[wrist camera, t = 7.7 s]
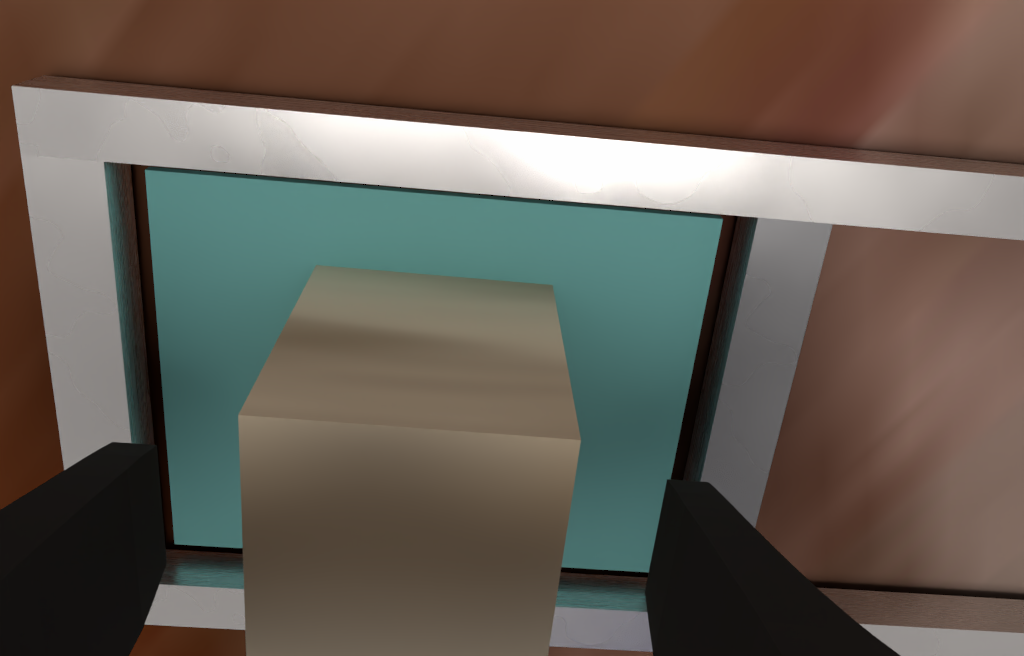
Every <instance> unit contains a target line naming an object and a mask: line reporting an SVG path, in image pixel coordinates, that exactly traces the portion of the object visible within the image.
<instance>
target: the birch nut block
mask: <svg viewBox="0 0 1024 656" xmlns="http://www.w3.org/2000/svg"><path fill="white" fill-rule="evenodd" d="M238 423H239V453H240V483H241V513H242V543H243V573H244V604H245V634H246V656H548V651H549V644H550V638H551V631H552V625H553V618H554V612H555V605H556V599H557V592H558V586H559V579H560V573H561V566H562V560H563V553H564V547H565V541H566V534H567V528H568V521H569V515H570V508H571V502H572V495H573V489H574V482H575V476H576V469H577V463H578V456H579V450H580V443H581V437H580V432H579V426H578V421H577V416H576V410H575V405H574V399H573V394H572V388H571V383H570V377H569V372H568V366H567V361H566V356H565V350H564V345H563V339H562V334H561V328H560V323H559V317H558V312H557V307H556V301H555V296H554V290H553V285H547V284H535V283H523V282H511V281H499V280H488V279H476V278H464V277H452V276H440V275H428V274H416V273H405V272H393V271H381V270H369V269H357V268H345V267H333V266H322V265H316V266H315V268H314V270H313V272H312V274H311V276H310V278H309V280H308V282H307V284H306V286H305V287H304V289H303V291H302V293H301V295H300V297H299V299H298V301H297V303H296V305H295V307H294V309H293V311H292V312H291V314H290V316H289V318H288V320H287V322H286V324H285V326H284V328H283V330H282V332H281V334H280V336H279V338H278V339H277V341H276V343H275V345H274V347H273V349H272V351H271V353H270V355H269V357H268V359H267V361H266V363H265V364H264V366H263V368H262V370H261V372H260V374H259V376H258V378H257V380H256V382H255V384H254V386H253V388H252V390H251V391H250V393H249V395H248V397H247V399H246V401H245V403H244V405H243V407H242V409H241V411H240V413H239V415H238Z"/></svg>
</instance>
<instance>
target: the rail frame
mask: <svg viewBox="0 0 1024 656" xmlns="http://www.w3.org/2000/svg"><path fill="white" fill-rule="evenodd" d="M12 94H13V101H14V108H15V115H16V123H17V130H18V137H19V144H20V152H21V159H22V166H23V174H24V181H25V188H26V195H27V203H28V210H29V217H30V224H31V232H32V239H33V246H34V254H35V261H36V268H37V275H38V283H39V290H40V297H41V304H42V312H43V319H44V326H45V334H46V341H47V348H48V355H49V363H50V370H51V377H52V384H53V392H54V399H55V406H56V414H57V421H58V428H59V435H60V443H61V450H62V457H63V464H64V470H66V469H67V468H69V467H71V466H72V465H74V464H75V463H77V462H79V461H80V460H82V459H83V458H85V457H87V456H88V455H90V454H92V453H93V452H95V451H97V450H99V449H100V448H102V447H104V446H106V445H108V444H110V443H111V442H120V443H135V444H150V445H154V434H153V422H152V411H151V399H150V388H149V376H148V364H147V353H146V341H145V329H144V318H143V306H142V295H141V283H140V271H139V260H138V248H137V236H136V225H135V213H134V202H133V190H132V178H131V167H130V164H137V165H149V166H161V167H173V168H184V169H196V170H208V171H219V172H231V173H243V174H254V175H266V176H278V177H289V178H301V179H313V180H325V181H336V182H348V183H360V184H371V185H383V186H395V187H406V188H418V189H430V190H442V191H453V192H465V193H477V194H488V195H500V196H512V197H523V198H535V199H547V200H559V201H570V202H582V203H594V204H605V205H617V206H629V207H640V208H652V209H664V210H675V211H687V212H699V213H711V214H722V215H734V216H738V218H737V223H736V227H735V232H734V237H733V242H732V247H731V251H730V256H729V261H728V266H727V270H726V275H725V280H724V285H723V290H722V294H721V299H720V304H719V309H718V314H717V318H716V323H715V328H714V333H713V338H712V342H711V347H710V352H709V357H708V362H707V366H706V371H705V376H704V381H703V386H702V390H701V395H700V400H699V405H698V409H697V414H696V419H695V424H694V429H693V433H692V438H691V443H690V448H689V453H688V457H687V462H686V467H685V472H684V477H683V480H685V481H700V482H709V483H710V484H711V485H712V486H714V487H715V488H716V489H717V490H718V491H719V492H720V493H721V494H722V495H723V496H724V497H725V498H726V499H727V500H728V501H729V502H730V503H731V504H732V505H733V506H734V507H735V508H736V509H737V510H738V511H739V512H740V513H741V514H742V515H743V516H744V518H745V519H746V520H747V521H748V522H749V523H750V524H751V525H752V526H753V527H754V528H755V526H756V522H757V518H758V514H759V510H760V506H761V502H762V498H763V494H764V491H765V487H766V483H767V479H768V475H769V471H770V467H771V463H772V459H773V455H774V452H775V448H776V444H777V440H778V436H779V432H780V428H781V424H782V420H783V416H784V412H785V409H786V405H787V401H788V397H789V393H790V389H791V385H792V381H793V377H794V373H795V369H796V366H797V362H798V358H799V354H800V350H801V346H802V342H803V338H804V334H805V330H806V327H807V323H808V319H809V315H810V311H811V307H812V303H813V299H814V295H815V291H816V287H817V284H818V280H819V276H820V272H821V268H822V264H823V260H824V256H825V252H826V248H827V245H828V241H829V237H830V233H831V229H832V225H833V224H839V225H851V226H863V227H874V228H886V229H898V230H909V231H921V232H933V233H944V234H956V235H968V236H980V237H991V238H1003V239H1015V240H1024V165H1021V164H1010V163H999V162H988V161H977V160H966V159H956V158H945V157H934V156H923V155H912V154H901V153H890V152H879V151H868V150H857V149H846V148H835V147H824V146H813V145H802V144H791V143H780V142H769V141H758V140H747V139H736V138H725V137H714V136H703V135H692V134H681V133H670V132H659V131H648V130H637V129H626V128H615V127H604V126H593V125H582V124H571V123H560V122H549V121H538V120H527V119H516V118H505V117H494V116H483V115H472V114H461V113H450V112H439V111H428V110H418V109H407V108H396V107H385V106H374V105H363V104H352V103H341V102H330V101H319V100H308V99H297V98H286V97H275V96H264V95H253V94H242V93H231V92H220V91H209V90H198V89H187V88H176V87H165V86H154V85H143V84H132V83H121V82H110V81H99V80H88V79H77V78H66V77H55V76H40V77H37V78H34V79H31V80H28V81H25V82H22V83H19V84H15V85H12ZM145 177H146V190H147V202H148V215H149V228H150V240H151V253H152V266H153V278H154V291H155V303H156V316H157V329H158V341H159V354H160V366H161V379H162V392H163V404H164V417H165V430H166V442H167V455H168V467H169V480H170V493H171V505H172V518H173V531H174V543H175V544H178V545H195V546H212V547H229V548H243V543H242V513H241V483H240V453H239V423H238V415H239V413H240V411H241V409H242V407H243V405H244V403H245V401H246V399H247V397H248V395H249V393H250V391H251V390H252V388H253V386H254V384H255V382H256V380H257V378H258V376H259V374H260V372H261V370H262V368H263V366H264V364H265V363H266V361H267V359H268V357H269V355H270V353H271V351H272V349H273V347H274V345H275V343H276V341H277V339H278V338H279V336H280V334H281V332H282V330H283V328H284V326H285V324H286V322H287V320H288V318H289V316H290V314H291V312H292V311H293V309H294V307H295V305H296V303H297V301H298V299H299V297H300V295H301V293H302V291H303V289H304V287H305V286H306V284H307V282H308V280H309V278H310V276H311V274H312V272H313V270H314V268H315V266H316V265H322V266H333V267H345V268H357V269H369V270H381V271H393V272H405V273H416V274H428V275H440V276H452V277H464V278H476V279H488V280H499V281H511V282H523V283H535V284H547V285H553V290H554V296H555V301H556V307H557V312H558V317H559V323H560V328H561V334H562V339H563V345H564V350H565V356H566V361H567V366H568V372H569V377H570V383H571V388H572V394H573V399H574V405H575V410H576V416H577V421H578V426H579V432H580V437H581V443H580V450H579V456H578V463H577V469H576V476H575V482H574V489H573V495H572V502H571V508H570V515H569V521H568V528H567V534H566V541H565V547H564V553H563V560H562V566H561V567H566V568H583V569H600V570H616V571H633V572H649V568H650V563H651V558H652V553H653V548H654V543H655V538H656V533H657V528H658V523H659V518H660V513H661V507H662V502H663V497H664V492H665V487H666V482H667V479H670V480H671V475H672V470H673V465H674V460H675V455H676V450H677V445H678V440H679V435H680V430H681V425H682V420H683V415H684V410H685V405H686V401H687V396H688V391H689V386H690V381H691V376H692V371H693V366H694V361H695V356H696V351H697V346H698V341H699V336H700V331H701V326H702V321H703V316H704V311H705V306H706V301H707V296H708V291H709V287H710V282H711V277H712V272H713V267H714V262H715V257H716V252H717V247H718V242H719V237H720V232H721V227H722V222H723V218H722V217H721V216H720V215H708V214H696V213H684V212H673V211H661V210H649V209H638V208H626V207H614V206H603V205H591V204H579V203H567V202H556V201H544V200H532V199H521V198H509V197H497V196H485V195H474V194H462V193H450V192H439V191H427V190H415V189H403V188H392V187H380V186H368V185H357V184H345V183H333V182H322V181H310V180H298V179H286V178H275V177H263V176H251V175H240V174H228V173H216V172H204V171H193V170H181V169H169V168H158V167H148V168H147V169H145ZM166 560H167V564H166V567H165V570H164V573H163V575H162V578H161V581H160V584H159V587H158V590H157V592H156V595H155V598H154V601H153V603H152V606H151V609H150V611H149V614H148V616H147V619H146V622H145V624H146V625H164V626H183V627H201V628H220V629H239V630H245V604H244V573H243V554H237V553H220V552H203V551H186V550H169V549H166ZM646 583H647V578H644V577H627V576H610V575H593V574H576V573H560V579H559V586H558V592H557V599H556V605H555V612H554V618H553V625H552V631H551V638H550V644H549V646H555V647H574V648H593V649H611V650H630V651H649V652H653V650H652V643H651V636H650V629H649V622H648V614H647V606H646V598H645V588H646ZM818 589H819V590H820V591H821V592H822V593H823V594H825V595H826V596H827V597H828V598H829V599H830V600H832V601H833V602H834V603H835V604H836V605H837V606H839V607H840V608H841V609H842V610H843V611H844V612H846V613H847V614H848V615H849V616H850V617H851V618H852V619H854V620H855V621H856V622H857V623H859V624H860V625H861V626H862V627H864V628H865V629H866V630H867V631H869V632H870V633H871V634H872V635H874V636H875V637H876V638H878V639H879V640H880V641H882V642H883V643H884V644H886V645H887V646H888V647H890V648H891V649H892V650H894V651H895V652H897V653H898V654H899V655H901V656H1024V600H1017V599H1000V598H983V597H966V596H949V595H933V594H916V593H899V592H882V591H865V590H848V589H831V588H818Z"/></svg>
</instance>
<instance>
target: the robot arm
mask: <svg viewBox="0 0 1024 656" xmlns="http://www.w3.org/2000/svg"><path fill="white" fill-rule="evenodd" d="M166 564H167V560H166V548H165V536H164V524H163V512H162V500H161V488H160V476H159V463H158V451H157V445H150V444H135V443H120V442H111V443H110V444H108V445H106V446H104V447H102V448H100V449H99V450H97V451H95V452H93V453H92V454H90V455H88V456H87V457H85V458H83V459H82V460H80V461H79V462H77V463H75V464H74V465H72V466H71V467H69V468H67V469H66V470H64V471H63V472H61V473H59V474H58V475H56V476H55V477H53V478H51V479H50V480H48V481H47V482H45V483H44V484H42V485H40V486H39V487H37V488H35V489H34V490H32V491H31V492H29V493H27V494H26V495H24V496H22V497H21V498H19V499H17V500H16V501H14V502H13V503H11V504H9V505H8V506H6V507H4V508H3V509H1V510H0V656H129V654H130V652H131V650H132V649H133V647H134V645H135V643H136V641H137V639H138V637H139V635H140V633H141V631H142V629H143V627H144V624H145V622H146V619H147V616H148V614H149V611H150V609H151V606H152V603H153V601H154V598H155V595H156V592H157V590H158V587H159V584H160V581H161V578H162V575H163V573H164V570H165V567H166ZM645 598H646V606H647V614H648V622H649V629H650V636H651V643H652V650H653V656H901V655H899V654H898V653H897V652H895V651H894V650H892V649H891V648H890V647H888V646H887V645H886V644H884V643H883V642H882V641H880V640H879V639H878V638H876V637H875V636H874V635H872V634H871V633H870V632H869V631H867V630H866V629H865V628H864V627H862V626H861V625H860V624H859V623H857V622H856V621H855V620H854V619H852V618H851V617H850V616H849V615H848V614H847V613H846V612H844V611H843V610H842V609H841V608H840V607H839V606H837V605H836V604H835V603H834V602H833V601H832V600H830V599H829V598H828V597H827V596H826V595H825V594H823V593H822V592H821V591H820V590H819V589H818V588H817V587H816V586H814V585H813V584H812V583H811V582H810V581H809V580H808V579H807V578H806V577H805V576H804V575H802V574H801V573H800V572H799V571H798V570H797V569H796V568H795V567H794V566H793V565H792V564H791V563H790V562H789V561H788V560H787V559H786V558H785V557H784V556H782V555H781V554H780V553H779V552H778V551H777V550H776V549H775V548H774V547H773V546H772V545H771V544H770V543H769V542H768V541H767V540H766V539H765V538H764V537H763V536H762V535H761V534H760V533H759V532H758V531H757V530H756V529H755V528H754V527H753V526H752V525H751V524H750V523H749V522H748V521H747V520H746V519H745V518H744V516H743V515H742V514H741V513H740V512H739V511H738V510H737V509H736V508H735V507H734V506H733V505H732V504H731V503H730V502H729V501H728V500H727V499H726V498H725V497H724V496H723V495H722V494H721V493H720V492H719V491H718V490H717V489H716V488H715V487H714V486H712V485H711V484H710V483H709V482H700V481H685V480H670V479H667V482H666V487H665V492H664V497H663V502H662V507H661V513H660V518H659V523H658V528H657V533H656V538H655V543H654V548H653V553H652V558H651V563H650V568H649V573H648V578H647V583H646V588H645Z"/></svg>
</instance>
